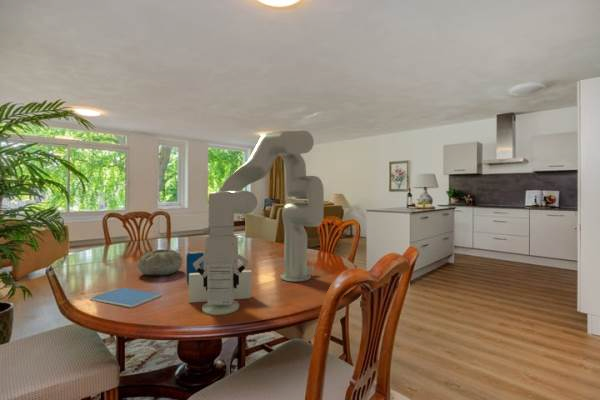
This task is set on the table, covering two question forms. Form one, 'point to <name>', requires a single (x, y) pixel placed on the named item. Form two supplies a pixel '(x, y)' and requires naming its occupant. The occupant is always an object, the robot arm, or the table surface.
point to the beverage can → (190, 259)
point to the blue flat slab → (126, 297)
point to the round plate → (220, 308)
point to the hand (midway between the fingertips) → (221, 287)
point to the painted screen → (200, 293)
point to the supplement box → (220, 283)
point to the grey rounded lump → (160, 262)
